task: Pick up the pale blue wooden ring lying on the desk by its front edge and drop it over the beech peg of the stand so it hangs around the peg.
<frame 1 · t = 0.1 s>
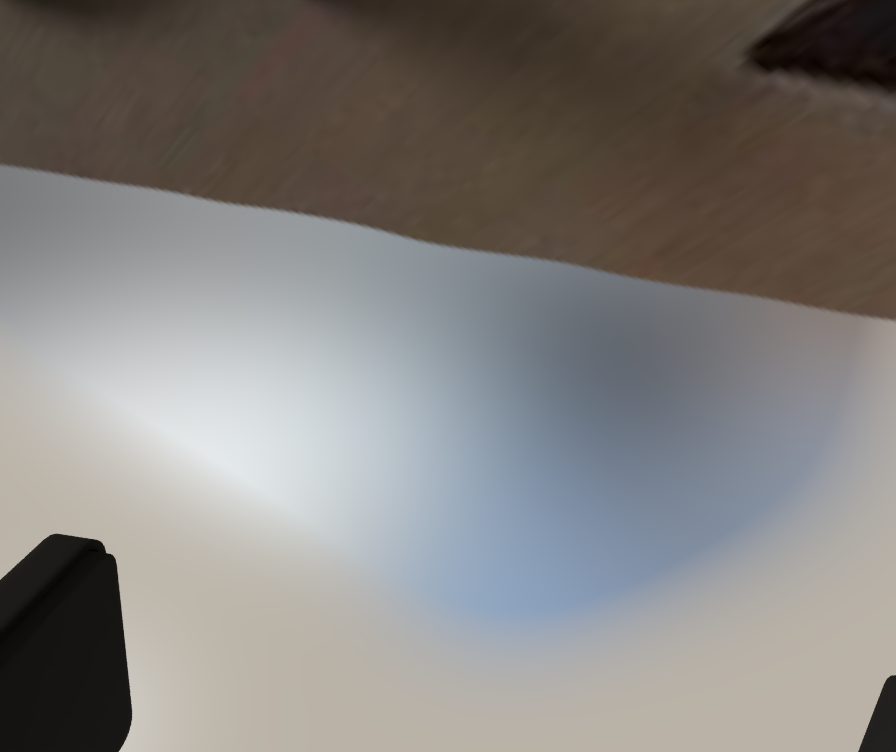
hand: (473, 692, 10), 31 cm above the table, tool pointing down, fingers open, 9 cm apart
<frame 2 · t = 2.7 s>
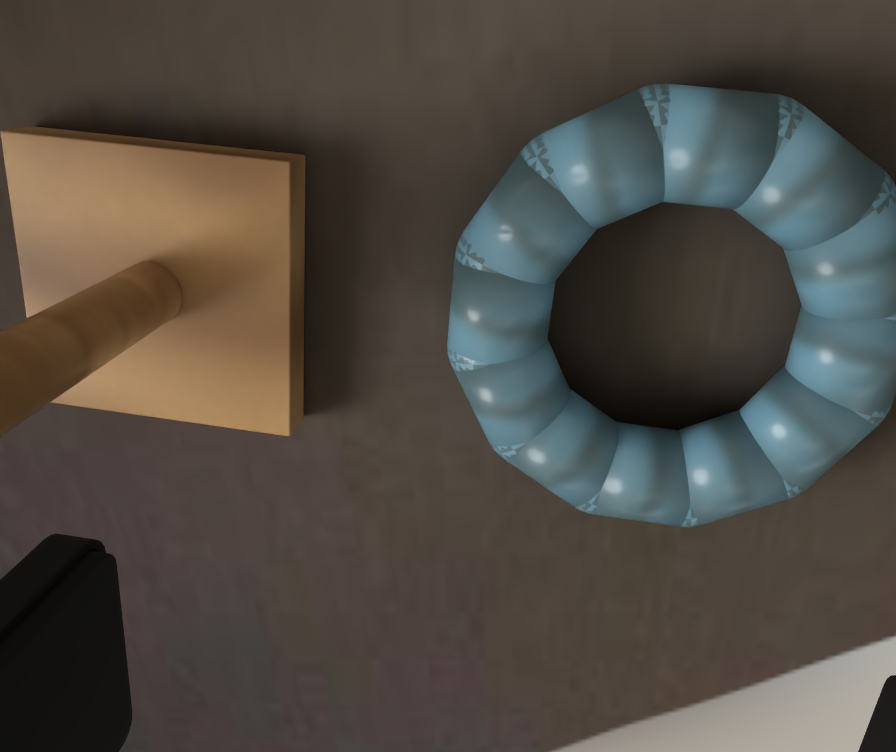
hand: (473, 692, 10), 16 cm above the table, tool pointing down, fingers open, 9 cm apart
peg stand: (174, 279, 26), on the table
ring: (671, 324, 23), point 1 cm above the table
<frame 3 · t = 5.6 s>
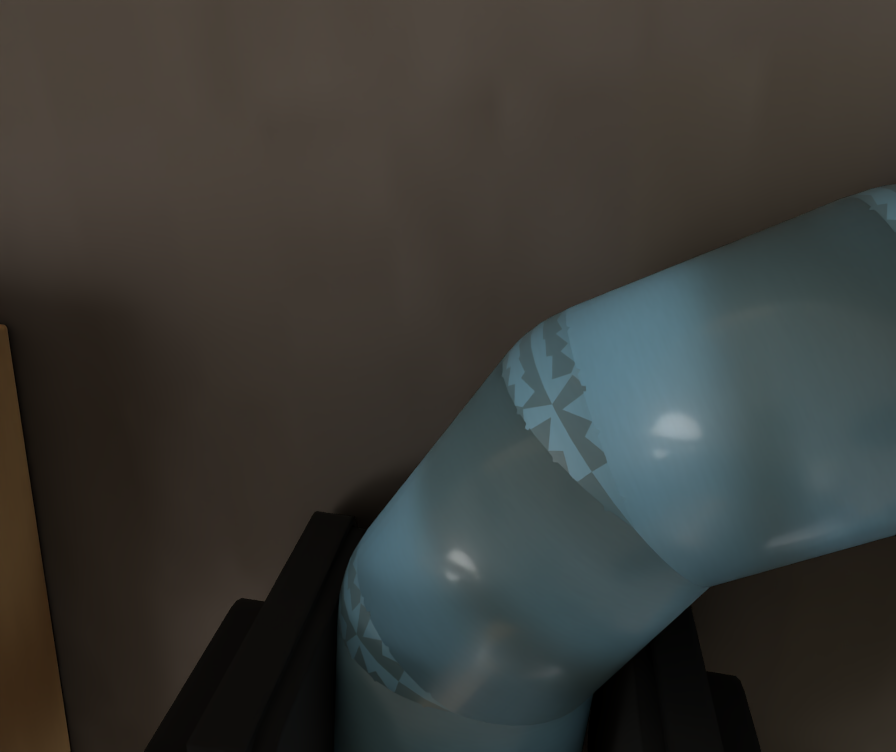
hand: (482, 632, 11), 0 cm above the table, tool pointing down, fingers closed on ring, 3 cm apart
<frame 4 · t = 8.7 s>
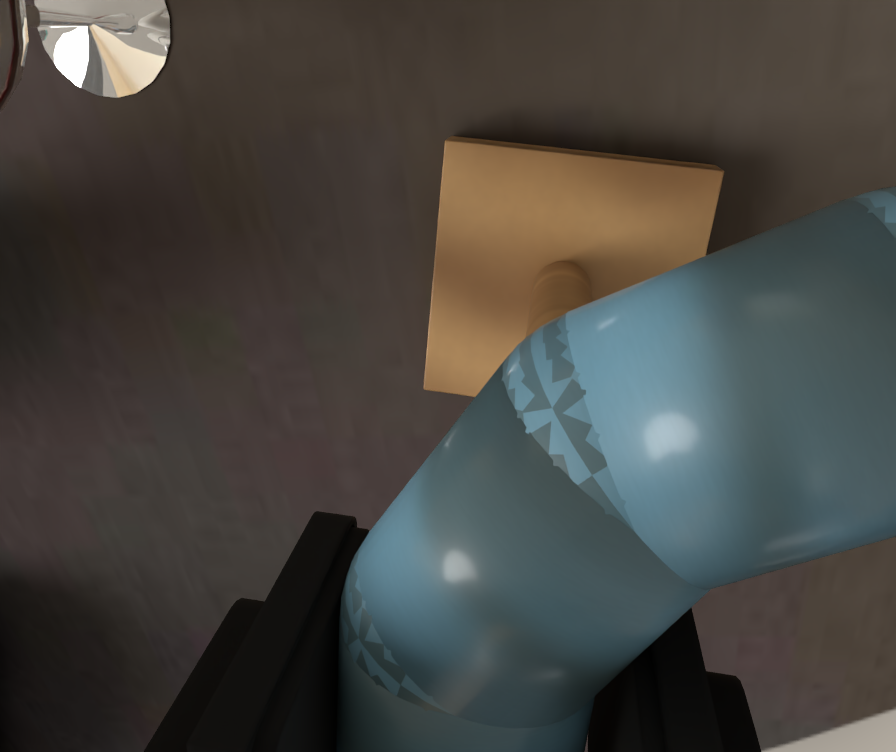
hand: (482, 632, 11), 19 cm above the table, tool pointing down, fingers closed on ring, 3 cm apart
peg stand: (562, 277, 28), on the table
wineglass: (105, 21, 27), on the table
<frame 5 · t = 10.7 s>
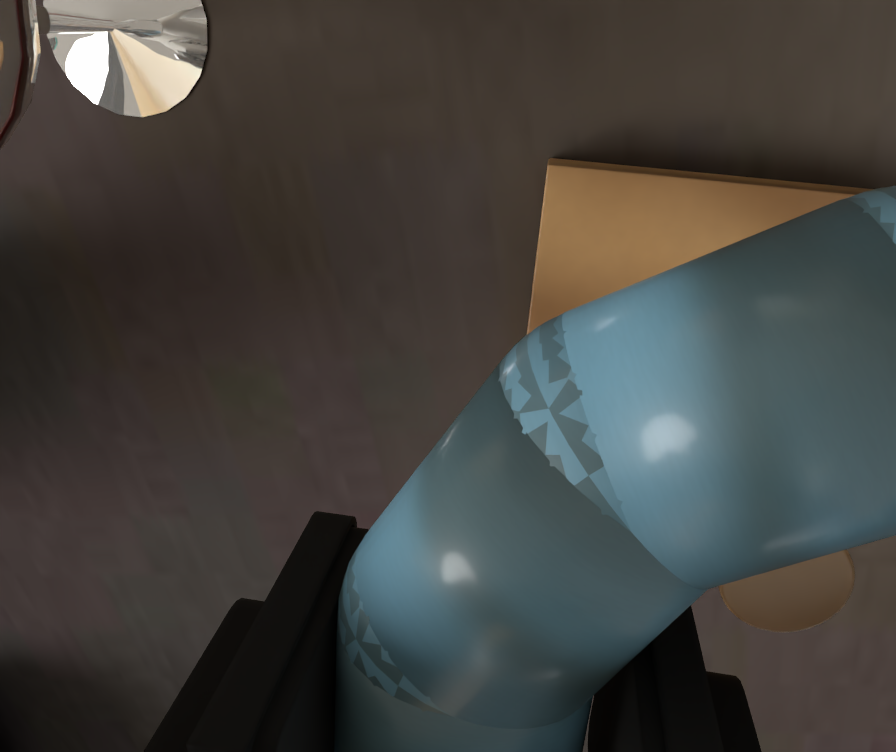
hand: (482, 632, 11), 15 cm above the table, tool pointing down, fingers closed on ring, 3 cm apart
peg stand: (679, 325, 24), on the table
wineglass: (128, 26, 23), on the table
when the fingers open (11 cm above the table, at t = 12.2 s): ring drops 9 cm, resting on peg stand.
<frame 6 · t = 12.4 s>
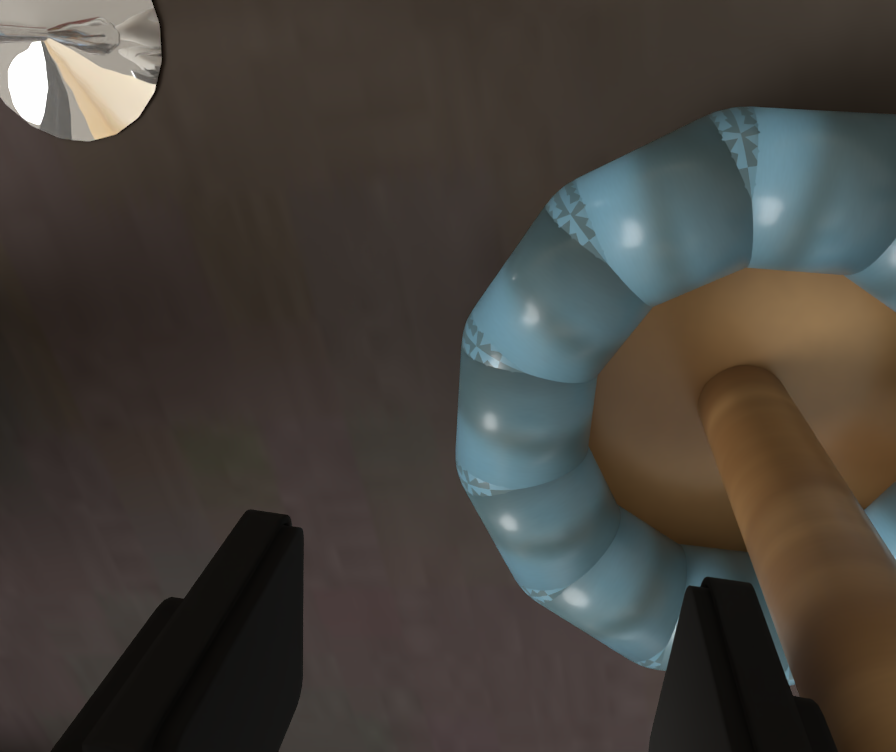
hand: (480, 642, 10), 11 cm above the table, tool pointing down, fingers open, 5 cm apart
peg stand: (729, 379, 20), on the table
wineglass: (68, 34, 19), on the table
ring: (755, 426, 17), point 3 cm above the table, touching peg stand
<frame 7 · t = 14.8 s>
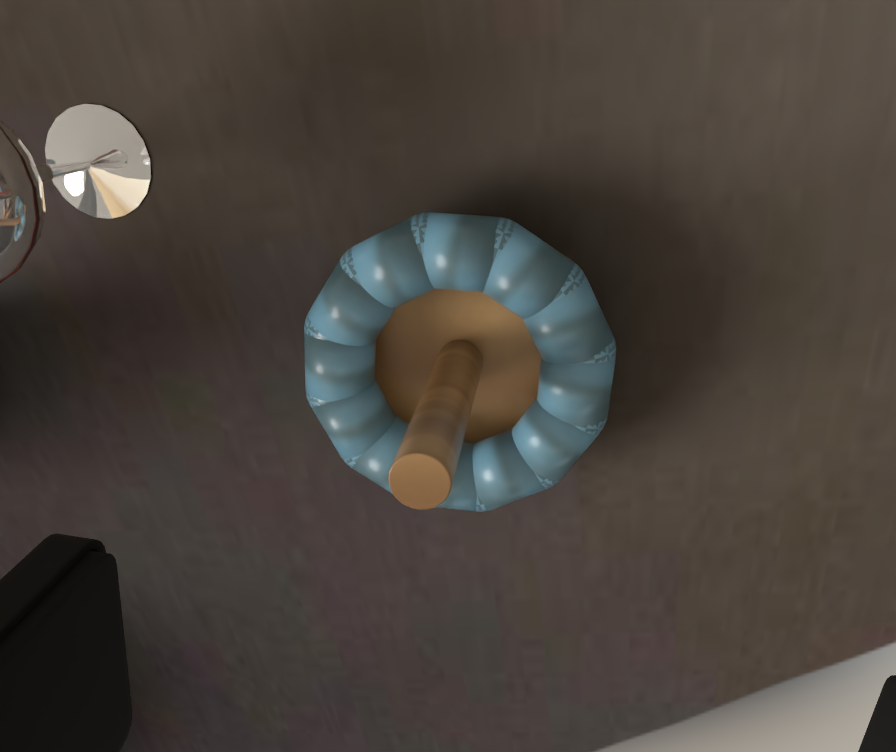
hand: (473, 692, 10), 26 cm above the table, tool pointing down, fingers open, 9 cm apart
peg stand: (464, 349, 36), on the table
wineglass: (100, 162, 35), on the table
ring: (456, 369, 33), point 3 cm above the table, touching peg stand
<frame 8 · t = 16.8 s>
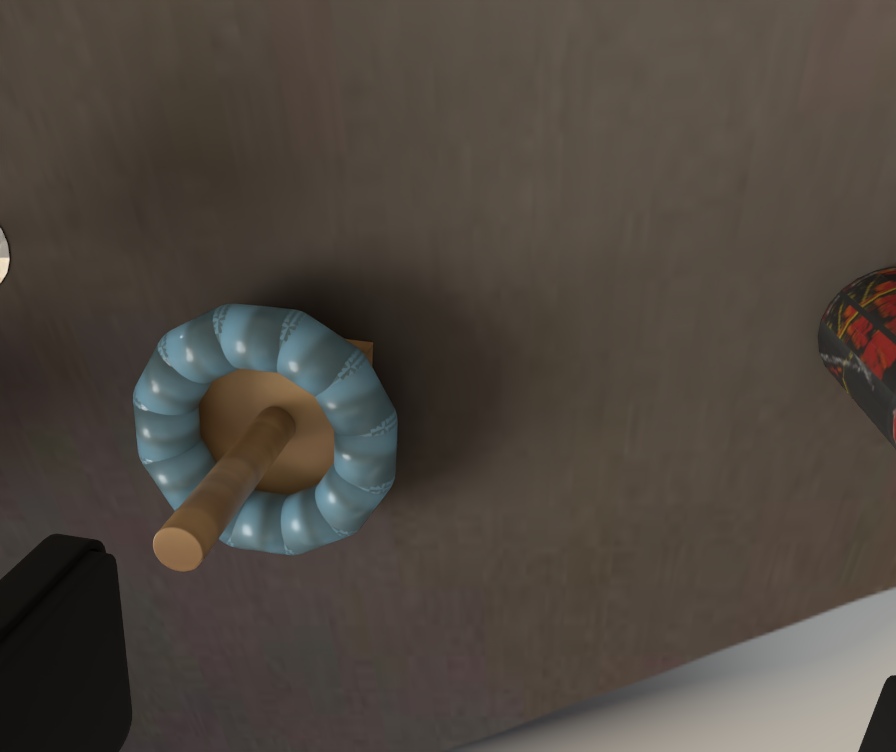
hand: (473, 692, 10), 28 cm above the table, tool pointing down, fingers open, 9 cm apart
peg stand: (286, 412, 41), on the table
deodorant: (886, 330, 35), on the table
ring: (265, 434, 38), point 3 cm above the table, touching peg stand
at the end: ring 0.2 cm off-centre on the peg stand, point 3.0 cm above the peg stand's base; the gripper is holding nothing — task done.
